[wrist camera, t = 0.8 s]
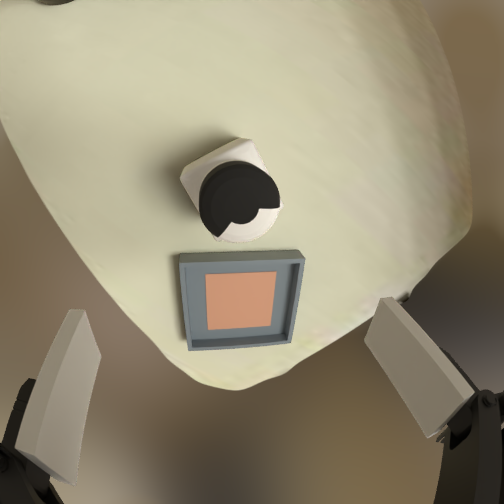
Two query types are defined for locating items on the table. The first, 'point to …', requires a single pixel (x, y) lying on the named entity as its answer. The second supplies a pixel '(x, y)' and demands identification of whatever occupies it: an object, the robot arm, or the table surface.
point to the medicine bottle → (233, 192)
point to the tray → (240, 298)
